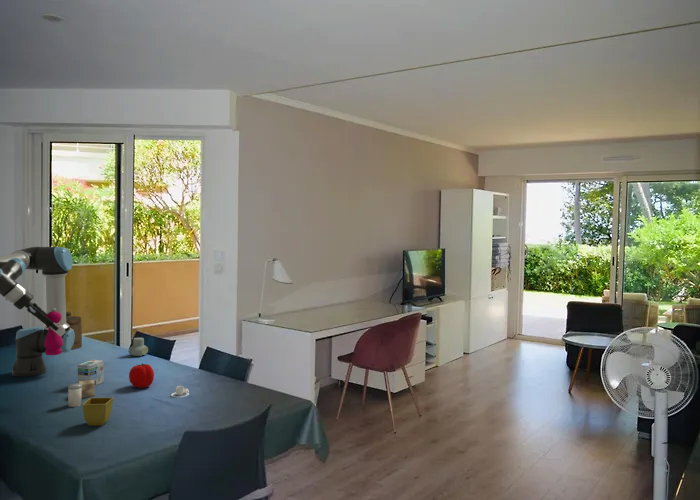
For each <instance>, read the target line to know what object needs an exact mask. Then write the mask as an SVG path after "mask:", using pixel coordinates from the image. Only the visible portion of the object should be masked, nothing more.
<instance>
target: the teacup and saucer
mask: <svg viewBox="0 0 700 500" xmlns="http://www.w3.org/2000/svg"><path fill="white" fill-rule="evenodd" d="M175 394H176V396H175ZM183 394H185V395H183ZM189 395H190V393H189V389H188V388H184V385H177V386H176V389H175V392H173V393H171V394H170V396H171V397H172V398H173V397H174V398H178V396H179V398H185V397H188V396H189Z"/></svg>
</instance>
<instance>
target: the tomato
mask: <svg viewBox="0 0 700 500" xmlns="http://www.w3.org/2000/svg"><path fill="white" fill-rule="evenodd" d="M128 379H129V382H130V384H131V385H132V386H133V387H135V388H139V389H140V388H147V387H148V388H149V386H151V385H152V384H153V382H154V380H155V371H154V369H153V367H152V365H150V364H147V363H141V364H136V365H134V366H133V367H131V369H130V370H129V373H128Z"/></svg>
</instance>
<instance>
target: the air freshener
mask: <svg viewBox="0 0 700 500" xmlns="http://www.w3.org/2000/svg"><path fill="white" fill-rule="evenodd" d="M148 352H149V347H148V346H147V345H145V339H144V337H134V338H133V339H132V346H130V347H129V349H128V354H129V355H131V356H133V357H143V356H142V355H144V356H145V355H146V354H147V353H148Z"/></svg>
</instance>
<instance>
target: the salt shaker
mask: <svg viewBox="0 0 700 500" xmlns="http://www.w3.org/2000/svg"><path fill="white" fill-rule="evenodd" d="M81 387H82V384H79V383H78V382H77V383H76V382H75V383H70V384H68V385H67V389H68V390H67V396H68V398H67V399H68V400H67V402H68V407H69V408H70V407H71V408H76V407H80V406H81V405H82V398H81Z"/></svg>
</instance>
